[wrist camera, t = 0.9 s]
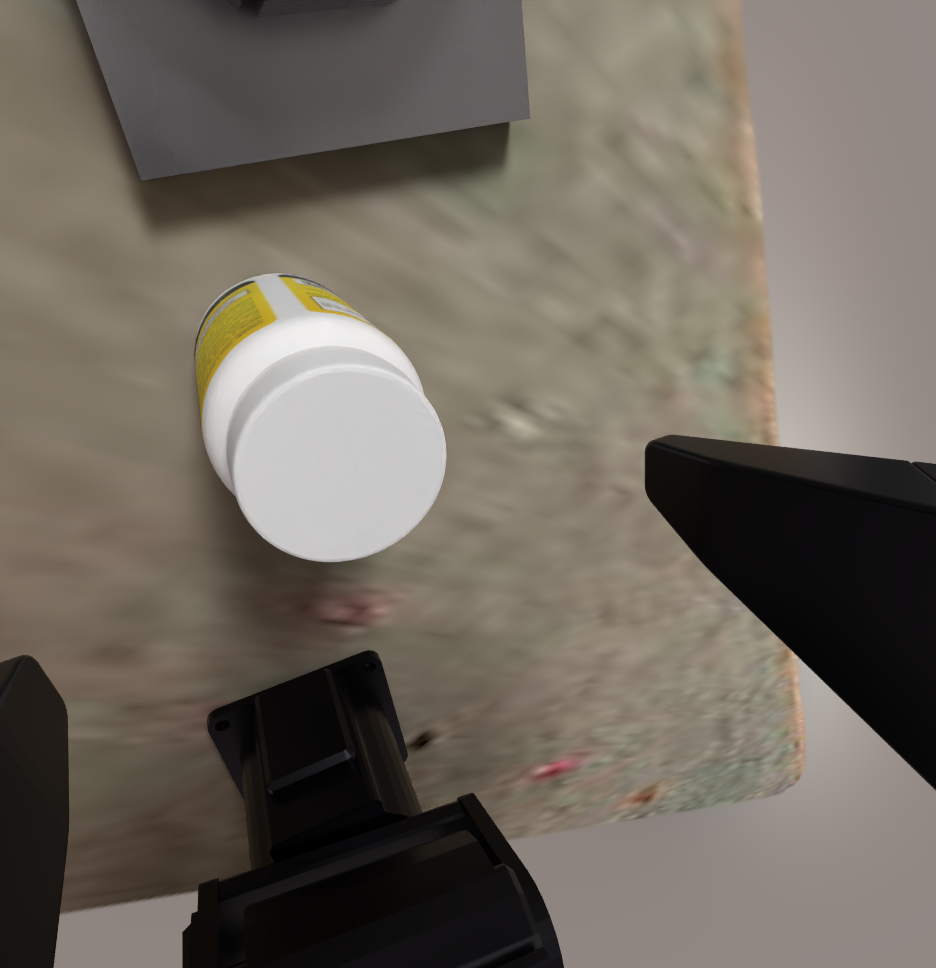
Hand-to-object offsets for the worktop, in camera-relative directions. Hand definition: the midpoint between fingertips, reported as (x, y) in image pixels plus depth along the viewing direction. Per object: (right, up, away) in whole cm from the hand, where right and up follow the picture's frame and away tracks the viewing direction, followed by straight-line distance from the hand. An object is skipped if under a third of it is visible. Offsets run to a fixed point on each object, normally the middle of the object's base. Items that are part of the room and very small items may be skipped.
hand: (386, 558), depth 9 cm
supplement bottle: (-4, +5, +9) cm, 12 cm away
